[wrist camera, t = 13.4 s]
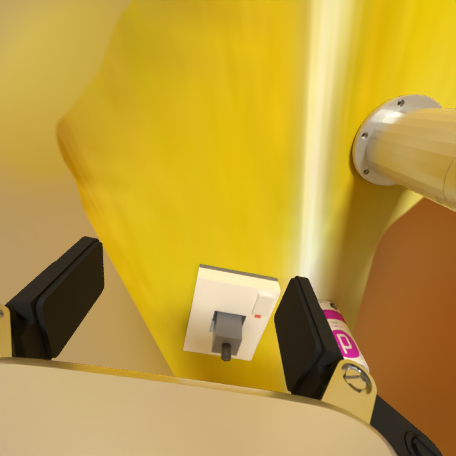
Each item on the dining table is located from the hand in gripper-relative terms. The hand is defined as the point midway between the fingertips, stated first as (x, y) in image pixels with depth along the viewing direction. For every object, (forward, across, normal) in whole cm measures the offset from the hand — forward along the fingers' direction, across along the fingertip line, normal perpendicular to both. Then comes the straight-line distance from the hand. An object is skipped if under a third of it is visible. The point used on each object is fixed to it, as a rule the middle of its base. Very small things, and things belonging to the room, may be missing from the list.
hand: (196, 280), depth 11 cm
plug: (+27, -8, +32) cm, 43 cm away
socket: (+28, -8, +32) cm, 43 cm away
